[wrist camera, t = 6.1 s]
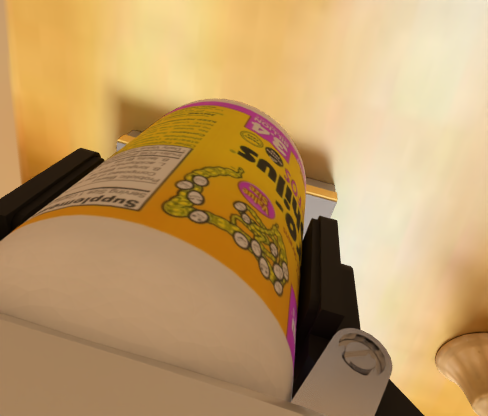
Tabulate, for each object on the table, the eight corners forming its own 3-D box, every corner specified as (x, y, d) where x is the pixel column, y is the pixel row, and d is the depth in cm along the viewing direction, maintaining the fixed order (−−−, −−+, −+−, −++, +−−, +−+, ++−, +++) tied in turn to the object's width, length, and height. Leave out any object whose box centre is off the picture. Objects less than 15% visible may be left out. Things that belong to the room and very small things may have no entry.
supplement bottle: (320, 231, 15) (324, 802, 5) (180, 249, 17) (-53, 682, 6) (287, 71, 12) (69, 627, 2) (123, 113, 14) (-507, 497, 3)
